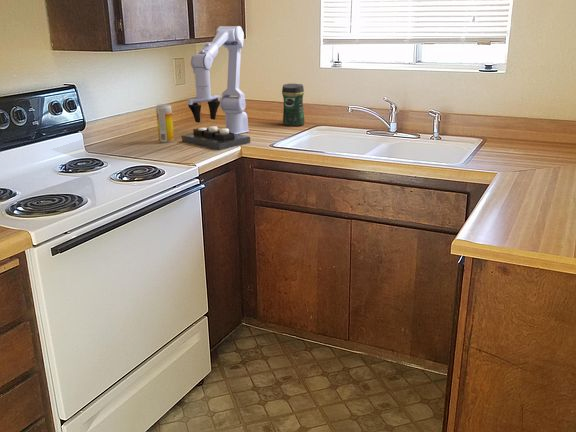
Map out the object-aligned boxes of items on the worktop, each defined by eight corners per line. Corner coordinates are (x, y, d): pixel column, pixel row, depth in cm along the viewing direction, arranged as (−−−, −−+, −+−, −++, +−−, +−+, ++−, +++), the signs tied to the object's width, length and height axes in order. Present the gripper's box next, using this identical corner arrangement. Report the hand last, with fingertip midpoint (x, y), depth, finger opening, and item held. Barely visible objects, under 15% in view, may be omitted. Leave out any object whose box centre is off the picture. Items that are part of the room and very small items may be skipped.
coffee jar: (306, 123, 269) (306, 83, 263) (299, 127, 262) (298, 85, 256) (288, 122, 273) (287, 82, 267) (280, 125, 267) (279, 84, 260)
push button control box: (208, 134, 252) (208, 123, 250) (250, 142, 234) (249, 131, 233) (178, 140, 241) (177, 129, 240) (219, 150, 224) (218, 138, 222)
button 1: (203, 131, 242) (203, 127, 242) (208, 133, 240) (208, 128, 239) (196, 133, 240) (196, 128, 239) (201, 134, 237) (201, 129, 237)
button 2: (213, 130, 237) (213, 125, 236) (219, 131, 235) (219, 126, 234) (206, 132, 235) (206, 127, 234) (212, 133, 232) (212, 128, 232)
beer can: (176, 139, 243) (172, 103, 237) (171, 143, 237) (168, 106, 232) (161, 139, 243) (158, 103, 238) (157, 143, 238) (153, 106, 232)
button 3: (225, 132, 233) (224, 128, 232) (230, 134, 230) (230, 129, 230) (218, 134, 230) (217, 129, 229) (223, 135, 228) (223, 130, 227)
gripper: (211, 83, 234) (213, 116, 238) (181, 87, 224) (184, 122, 228) (222, 84, 229) (224, 118, 234) (192, 88, 219) (195, 124, 224)
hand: (205, 120), depth 231 cm, fingers open, 7 cm apart
